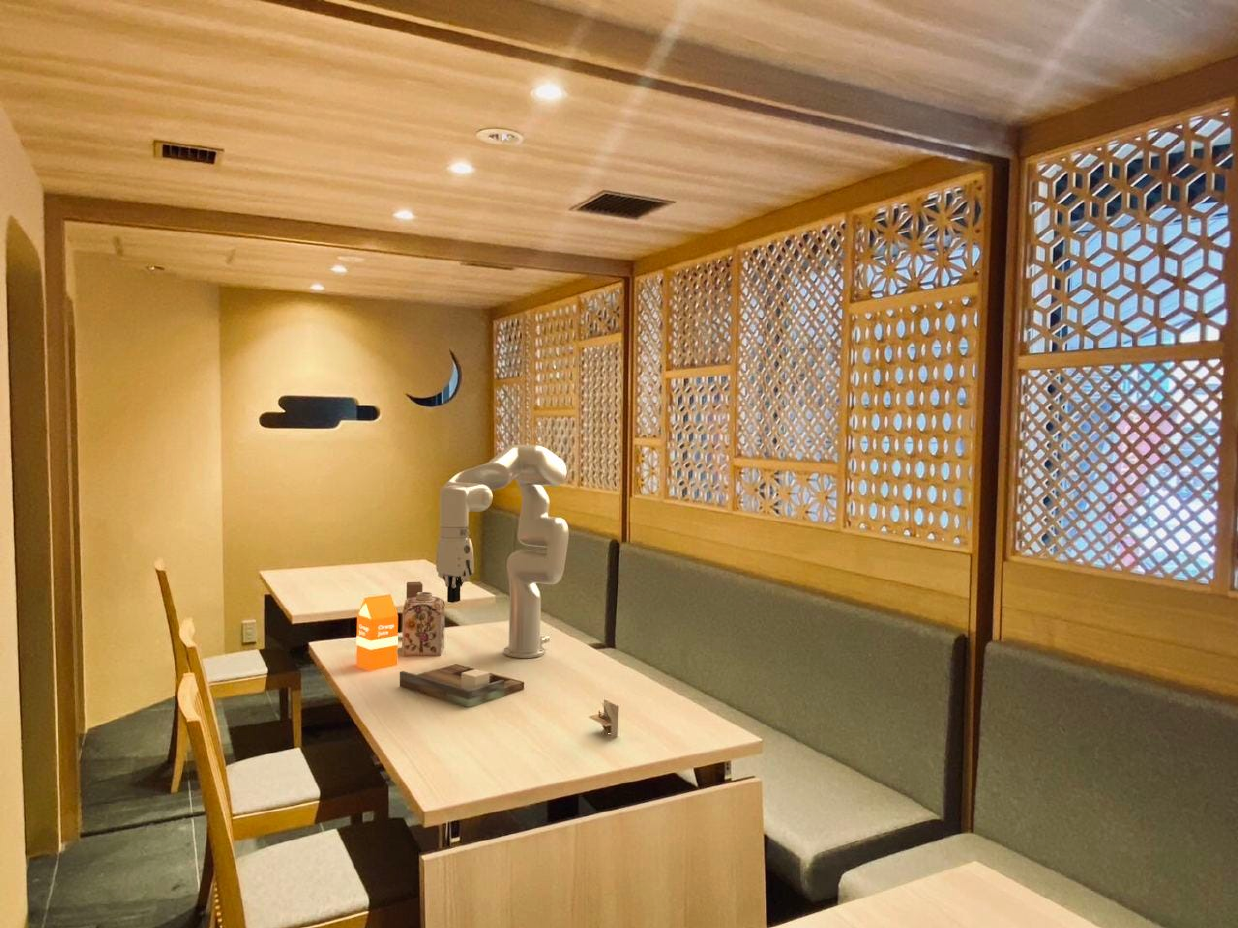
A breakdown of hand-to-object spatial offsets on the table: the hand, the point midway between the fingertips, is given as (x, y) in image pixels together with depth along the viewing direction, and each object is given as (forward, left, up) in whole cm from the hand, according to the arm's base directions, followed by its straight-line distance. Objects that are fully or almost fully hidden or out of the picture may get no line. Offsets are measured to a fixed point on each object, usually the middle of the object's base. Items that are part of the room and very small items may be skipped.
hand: (453, 601), depth 233 cm
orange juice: (0, -31, -23) cm, 39 cm away
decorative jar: (-19, -33, -23) cm, 44 cm away
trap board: (-1, +3, -23) cm, 23 cm away
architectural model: (+1, +53, -24) cm, 58 cm away
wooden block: (-30, -47, -23) cm, 60 cm away
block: (+3, +12, -21) cm, 24 cm away
